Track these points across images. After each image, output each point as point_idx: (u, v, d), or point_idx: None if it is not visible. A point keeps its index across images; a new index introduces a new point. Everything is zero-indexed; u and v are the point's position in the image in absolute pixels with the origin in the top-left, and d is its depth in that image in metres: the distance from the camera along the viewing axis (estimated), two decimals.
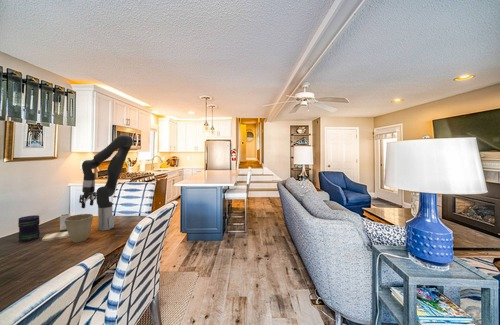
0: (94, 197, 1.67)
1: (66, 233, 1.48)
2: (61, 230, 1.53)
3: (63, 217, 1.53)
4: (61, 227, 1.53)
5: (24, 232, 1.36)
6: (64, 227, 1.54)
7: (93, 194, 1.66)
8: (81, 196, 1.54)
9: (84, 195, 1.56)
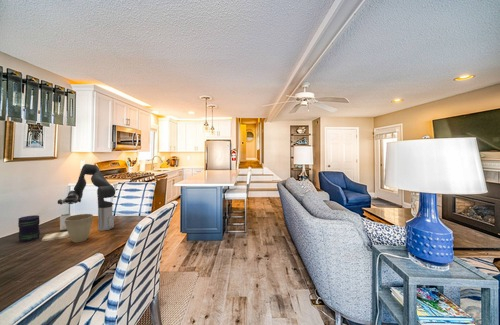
0: (78, 199, 1.74)
1: (66, 233, 1.48)
2: (61, 230, 1.53)
3: (63, 217, 1.53)
4: (61, 227, 1.53)
5: (24, 232, 1.36)
6: (64, 227, 1.54)
7: (78, 199, 1.75)
8: None
9: (63, 200, 1.71)
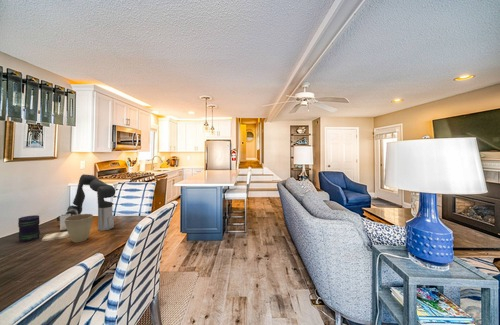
0: None
1: (66, 233, 1.48)
2: (61, 230, 1.53)
3: (63, 217, 1.53)
4: (61, 227, 1.53)
5: (24, 232, 1.36)
6: (64, 227, 1.54)
7: None
8: None
9: None
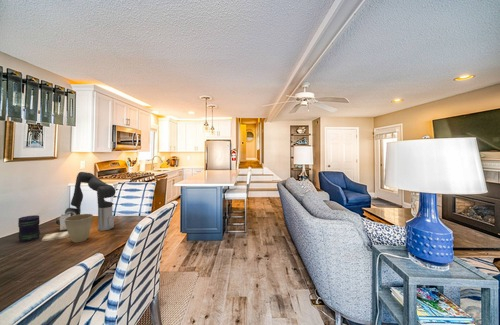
0: None
1: (66, 233, 1.48)
2: (61, 230, 1.53)
3: (63, 217, 1.53)
4: (61, 227, 1.53)
5: (24, 232, 1.36)
6: (64, 227, 1.54)
7: None
8: None
9: None
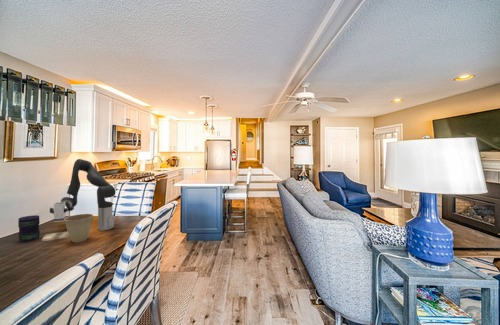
0: None
1: (66, 233, 1.48)
2: (55, 219, 1.43)
3: (57, 205, 1.43)
4: (55, 216, 1.43)
5: (24, 232, 1.36)
6: (58, 216, 1.44)
7: None
8: None
9: None
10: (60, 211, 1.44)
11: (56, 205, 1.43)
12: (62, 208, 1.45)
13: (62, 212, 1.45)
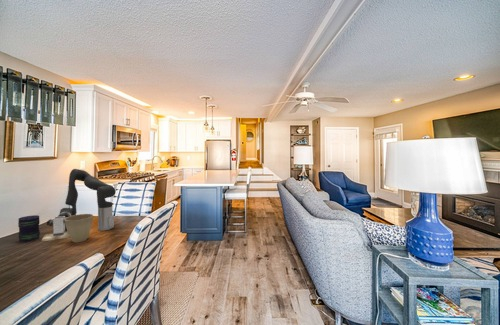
0: None
1: (66, 233, 1.48)
2: (55, 234, 1.42)
3: (57, 220, 1.43)
4: (55, 230, 1.42)
5: (24, 232, 1.36)
6: (58, 230, 1.43)
7: None
8: None
9: None
10: (60, 225, 1.44)
11: (56, 219, 1.42)
12: (62, 222, 1.44)
13: (62, 226, 1.44)
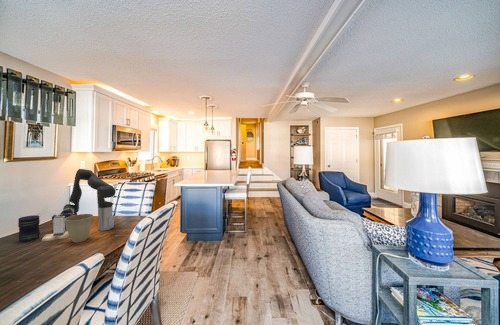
0: (74, 214, 1.63)
1: (66, 233, 1.48)
2: (55, 234, 1.42)
3: (57, 220, 1.43)
4: (55, 230, 1.42)
5: (23, 232, 1.36)
6: (58, 230, 1.43)
7: (73, 214, 1.65)
8: None
9: None
10: (60, 225, 1.44)
11: (56, 219, 1.42)
12: (62, 222, 1.44)
13: (62, 226, 1.44)
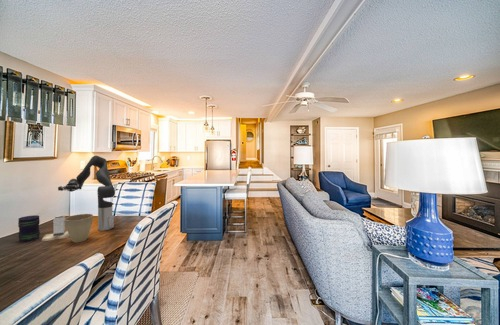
0: (79, 186, 1.72)
1: (66, 233, 1.48)
2: (55, 234, 1.42)
3: (57, 220, 1.43)
4: (55, 230, 1.42)
5: (24, 232, 1.36)
6: (58, 230, 1.43)
7: (78, 186, 1.74)
8: None
9: (63, 187, 1.69)
10: (60, 225, 1.44)
11: (56, 219, 1.42)
12: (62, 222, 1.44)
13: (62, 226, 1.44)
